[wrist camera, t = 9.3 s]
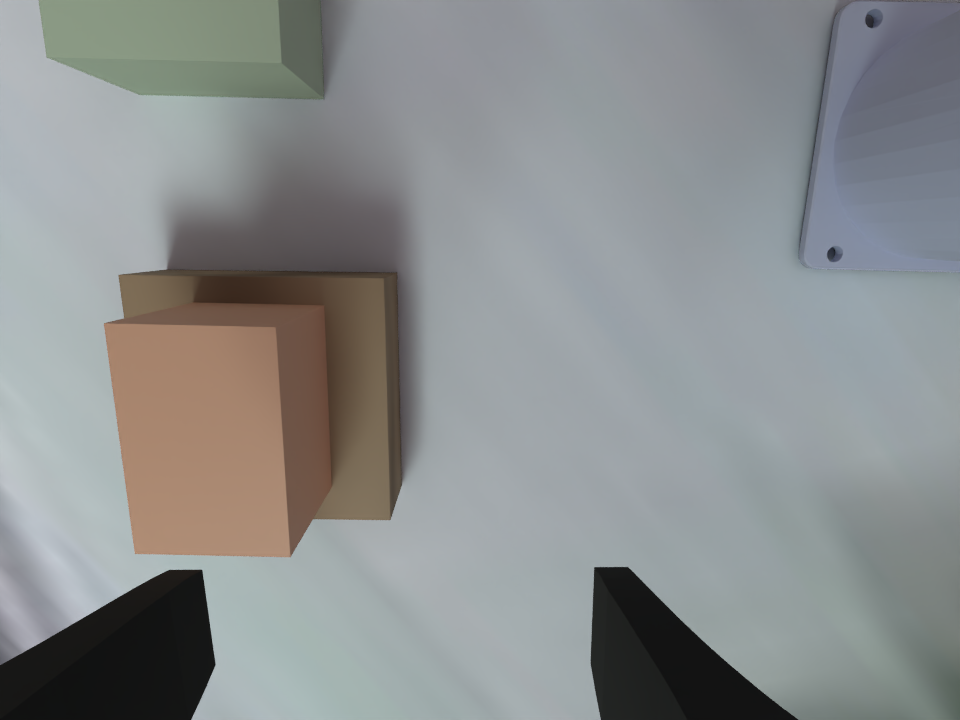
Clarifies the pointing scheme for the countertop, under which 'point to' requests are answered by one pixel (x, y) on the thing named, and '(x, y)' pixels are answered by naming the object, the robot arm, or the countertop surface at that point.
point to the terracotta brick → (222, 426)
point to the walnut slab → (350, 364)
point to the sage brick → (191, 45)
